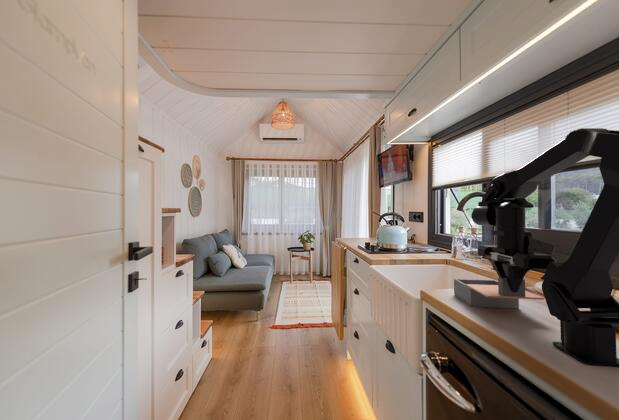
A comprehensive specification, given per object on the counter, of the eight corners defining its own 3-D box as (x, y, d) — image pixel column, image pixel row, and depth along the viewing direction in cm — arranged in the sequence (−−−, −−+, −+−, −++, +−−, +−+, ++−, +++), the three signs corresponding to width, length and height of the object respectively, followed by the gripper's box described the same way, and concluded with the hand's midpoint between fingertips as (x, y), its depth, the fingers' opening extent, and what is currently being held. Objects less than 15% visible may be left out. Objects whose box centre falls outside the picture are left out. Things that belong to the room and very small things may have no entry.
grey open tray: (518, 308, 66) (518, 289, 66) (470, 306, 67) (470, 287, 67) (495, 296, 76) (495, 280, 76) (454, 294, 77) (453, 278, 77)
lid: (544, 299, 58) (543, 280, 58) (487, 297, 59) (486, 279, 59) (513, 287, 68) (512, 271, 68) (465, 285, 70) (465, 269, 70)
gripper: (585, 229, 50) (587, 306, 49) (519, 225, 68) (520, 282, 68) (524, 228, 51) (526, 304, 51) (475, 225, 70) (477, 280, 69)
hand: (511, 291), depth 60 cm, fingers closed on lid, 2 cm apart
